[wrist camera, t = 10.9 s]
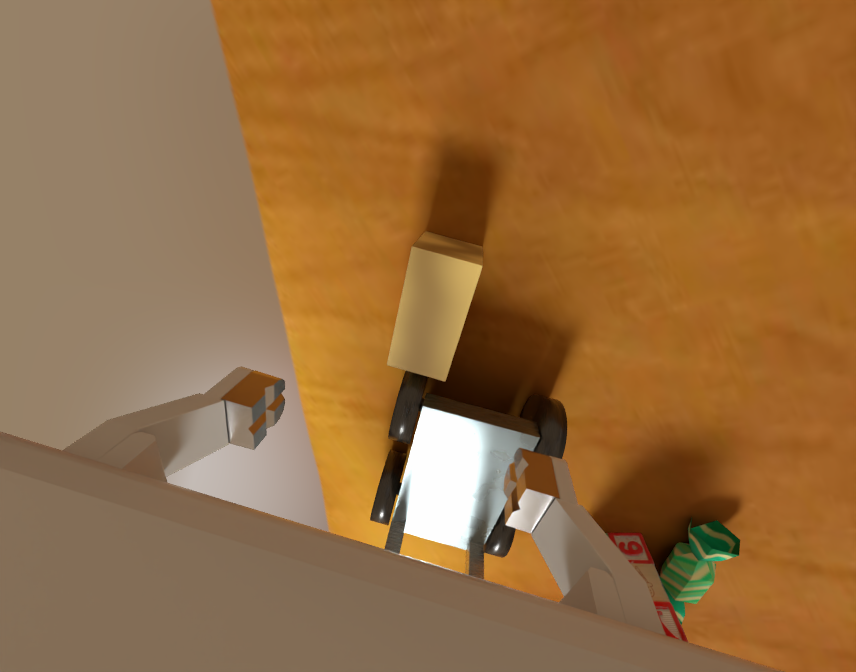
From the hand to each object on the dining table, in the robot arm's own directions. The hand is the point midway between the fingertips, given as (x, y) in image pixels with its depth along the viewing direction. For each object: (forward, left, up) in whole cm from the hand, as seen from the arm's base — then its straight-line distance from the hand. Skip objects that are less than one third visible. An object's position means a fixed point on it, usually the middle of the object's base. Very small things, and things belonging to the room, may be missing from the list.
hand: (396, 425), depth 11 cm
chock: (0, +1, -15) cm, 15 cm away
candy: (-29, +21, -15) cm, 39 cm away
